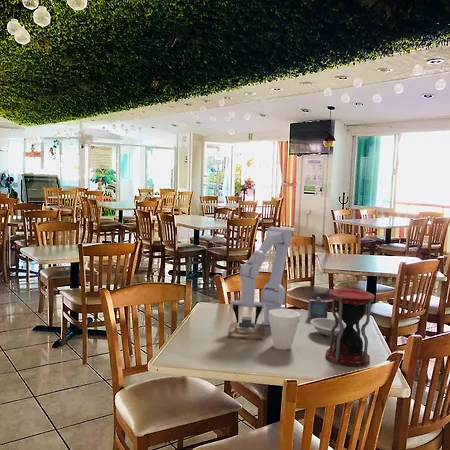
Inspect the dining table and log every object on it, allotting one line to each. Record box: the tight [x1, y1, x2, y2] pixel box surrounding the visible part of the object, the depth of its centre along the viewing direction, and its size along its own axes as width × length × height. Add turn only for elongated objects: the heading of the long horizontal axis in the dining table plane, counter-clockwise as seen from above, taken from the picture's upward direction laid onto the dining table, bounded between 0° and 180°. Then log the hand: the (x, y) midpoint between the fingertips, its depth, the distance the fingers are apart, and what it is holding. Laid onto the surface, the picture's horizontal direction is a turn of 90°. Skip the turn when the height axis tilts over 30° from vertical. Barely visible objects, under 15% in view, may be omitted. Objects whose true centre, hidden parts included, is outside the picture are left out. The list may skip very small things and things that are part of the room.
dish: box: [309, 317, 346, 337], centre depth 206 cm, size 18×14×5 cm
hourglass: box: [325, 288, 375, 367], centre depth 179 cm, size 16×16×25 cm
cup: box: [268, 308, 301, 351], centre depth 189 cm, size 12×12×14 cm
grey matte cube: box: [241, 316, 253, 328], centre depth 206 cm, size 4×4×5 cm
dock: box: [227, 321, 264, 341], centre depth 206 cm, size 14×19×3 cm
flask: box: [307, 296, 329, 320], centre depth 230 cm, size 9×3×11 cm, turn 76°
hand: (246, 323), depth 206 cm, fingers open, 7 cm apart
